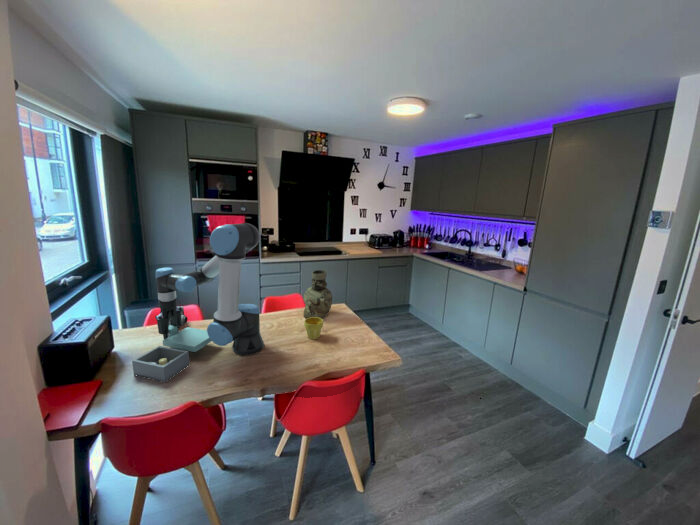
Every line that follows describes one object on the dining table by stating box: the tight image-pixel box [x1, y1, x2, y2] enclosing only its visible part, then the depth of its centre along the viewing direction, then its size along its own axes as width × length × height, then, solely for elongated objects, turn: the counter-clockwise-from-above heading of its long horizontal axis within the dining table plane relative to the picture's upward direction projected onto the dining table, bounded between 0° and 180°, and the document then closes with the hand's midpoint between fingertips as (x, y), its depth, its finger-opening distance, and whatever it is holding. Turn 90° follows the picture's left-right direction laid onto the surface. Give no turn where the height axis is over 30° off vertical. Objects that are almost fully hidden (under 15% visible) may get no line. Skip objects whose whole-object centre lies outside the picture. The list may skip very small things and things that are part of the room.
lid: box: [162, 325, 213, 353], centre depth 141 cm, size 23×15×6 cm, turn 76°
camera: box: [169, 305, 188, 326], centre depth 166 cm, size 14×8×10 cm, turn 6°
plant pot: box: [303, 317, 324, 340], centre depth 160 cm, size 10×10×10 cm
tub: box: [131, 345, 191, 383], centre depth 124 cm, size 16×13×7 cm
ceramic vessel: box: [302, 269, 333, 320], centre depth 185 cm, size 19×21×30 cm
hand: (172, 342), depth 145 cm, fingers closed on lid, 4 cm apart
